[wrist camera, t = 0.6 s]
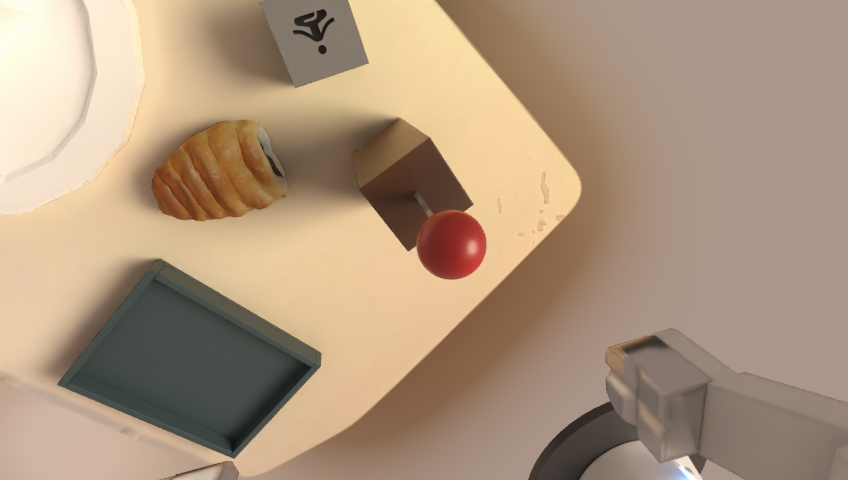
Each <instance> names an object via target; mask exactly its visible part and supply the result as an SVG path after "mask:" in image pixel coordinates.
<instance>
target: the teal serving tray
mask: <svg viewBox="0 0 848 480" xmlns="http://www.w3.org/2000/svg"><path fill="white" fill-rule="evenodd" d="M320 366H321V353H320V352H319V351H317V350H315V349H314V348H312V347H310V346H308V345H307V344H305V343H303V342H302V341H300V340H298V339H297V338H295V337H293V336H291V335H290V334H288V333H286V332H285V331H283V330H281V329H279V328H278V327H276V326H274V325H273V324H271V323H269V322H268V321H266V320H264V319H262V318H261V317H259V316H257V315H256V314H254V313H252V312H250V311H249V310H247V309H245V308H244V307H242V306H240V305H238V304H237V303H235V302H233V301H232V300H230V299H228V298H227V297H225V296H223V295H221V294H220V293H218V292H216V291H215V290H213V289H211V288H209V287H208V286H206V285H204V284H203V283H201V282H199V281H198V280H196V279H194V278H192V277H191V276H189V275H187V274H186V273H184V272H182V271H180V270H179V269H177V268H175V267H174V266H172V265H170V264H169V263H167V262H165V261H163V260H162V259H159V260H158V261H157V262H156V263H155V264H154V265H153V266H152V268H151V269H150V270H149V271H148V272H147V273H146V275H145V276H144V277H143V278H142V280H141V281H140V282H139V283H138V285H137V286H136V287H135V288H134V290H133V291H132V292H131V293H130V295H129V296H128V297H127V298H126V299H125V301H124V302H123V303H122V304H121V306H120V307H119V308H118V309H117V311H116V312H115V313H114V314H113V316H112V317H111V318H110V319H109V321H108V322H107V323H106V324H105V325H104V327H103V328H102V329H101V330H100V332H99V333H98V334H97V335H96V337H95V338H94V339H93V340H92V342H91V343H90V344H89V345H88V347H87V348H86V349H85V350H84V351H83V353H82V354H81V355H80V356H79V358H78V359H77V360H76V361H75V363H74V364H73V365H72V366H71V368H70V369H69V370H68V371H67V373H66V374H65V375H64V376H63V377H62V379H61V380H60V381H59V382H58V384H57V385H59V386H61V387H65V388H66V389H69V390H71V391H73V392H76V393H78V394H81V395H83V396H85V397H88V398H90V399H93V400H95V401H97V402H100V403H102V404H104V405H107V406H109V407H112V408H114V409H116V410H119V411H121V412H124V413H126V414H128V415H131V416H133V417H136V418H138V419H140V420H143V421H145V422H147V423H150V424H152V425H155V426H157V427H159V428H162V429H164V430H167V431H169V432H171V433H174V434H176V435H179V436H181V437H183V438H186V439H188V440H191V441H193V442H195V443H198V444H200V445H202V446H205V447H207V448H210V449H212V450H214V451H217V452H219V453H222V454H224V455H226V456H229V457H231V458H233V459H234V458H235V457H236V456H237V455H238V454H239V453H240V452H241V451H242V450H243V449H244V448H245V447H246V446H247V445H248V443H249V442H250V441H251V440H252V439H253V438H254V437H255V436H256V435H257V434H258V433H259V432H260V431H261V430H262V429H263V427H264V426H265V425H266V424H267V423H268V422H269V421H270V420H271V419H272V418H273V417H274V416H275V415H276V414H277V412H278V411H279V410H280V409H281V408H282V407H283V406H284V405H285V404H286V403H287V402H288V401H289V400H290V399H291V398H292V396H293V395H294V394H295V393H296V392H297V391H298V390H299V389H300V388H301V387H302V386H303V385H304V384H305V383H306V381H307V380H308V379H309V378H310V377H311V376H312V375H313V374H314V373H315V372H316V371H317V370H318V369H319V368H320Z"/></svg>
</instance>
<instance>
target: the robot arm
mask: <svg viewBox="0 0 848 480" xmlns="http://www.w3.org/2000/svg"><path fill="white" fill-rule="evenodd" d="M605 360H606V363H607V364H608V365H609V366H610V368H611V370H610V372H609V374H608V375H607V377H606V390H607V393H608V396H609V399H610V402H611V404H612V405H613V407H614V409H615V410H616V412H617V413H618V414H619V416H620V417H621V418H622V419H623V421H625V422H627V423H630V424H632V425H634V426H636V427H637V434H638V438H639V440H636V441H631V442H627V443H624V444H621V445H619V446H616V447H614V448H612V449H610V450H609V451H607V452H605V453H604V454H602V455H601V456H600V457H598V458H597V459H596V460H595V461H594V462H593V463H592V464H591V465H590V466H589V467H588V468H587V469H586V470H585V471H584V473H583V474H582V476H581V478H580V479H579V480H703V479H702V478H701V476H700V475H699V473H698V471H697V470H696V468H695V466H694V465H693V463H692V462H691V460H690V458H689V457H688V455H692V454H695V453H698V452H699V455H701V456H703V457H704V458H706V459H708V460H710V461H712V462H714V463H716V464H717V465H719V466H721V467H723V468H725V469H727V470H728V471H730V472H732V473H734V474H736V475H737V476H739V477H741V478H743V479H745V480H848V403H847V402H844V401H840V400H837V399H834V398H830V397H827V396H824V395H820V394H817V393H814V392H810V391H807V390H804V389H800V388H797V387H794V386H790V385H787V384H783V383H780V382H776V381H773V380H770V379H767V378H763V377H760V376H757V375H753V374H750V373H746V372H742V373H739V374H737V373H736V372H734V371H733V370H732V369H730V368H729V367H728V366H726V365H725V364H723V363H722V362H720V361H719V360H718V359H717V358H715V357H714V356H712V355H711V354H710V353H708V352H707V351H705V350H704V349H703V348H702V347H700V346H699V345H697V344H696V343H695V342H693V341H692V340H690V339H689V338H688V337H686V336H685V335H684V334H682V333H681V332H680V331H678V330H676V329H672V328H669V329H666V330H663V331H659V332H656V333H653V334H650V335H649V336H644V337H640V338H638V339H634V340H631V341H628V342H624V343H621V344H618V345H615V346H611V347H608V349H607V351H606V357H605ZM238 474H239V472H238V470H237V469H236V467H235V465H234V464H233V462H232V461H225V462H221V463H217V464H214V465H210V466H206V467H203V468H199V469H195V470H192V471H188V472H185V473H180V474H177V475H175V476H172V477H168V478H164V479H160V480H237V478H238Z"/></svg>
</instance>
